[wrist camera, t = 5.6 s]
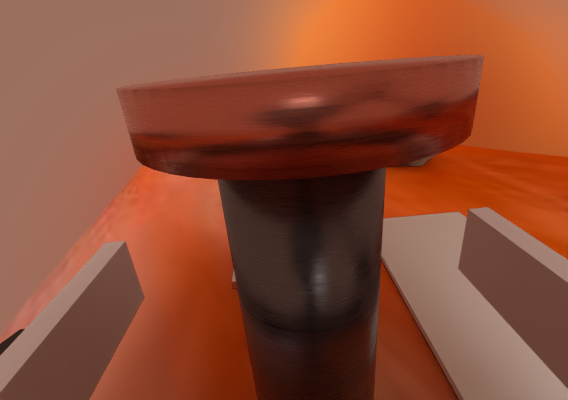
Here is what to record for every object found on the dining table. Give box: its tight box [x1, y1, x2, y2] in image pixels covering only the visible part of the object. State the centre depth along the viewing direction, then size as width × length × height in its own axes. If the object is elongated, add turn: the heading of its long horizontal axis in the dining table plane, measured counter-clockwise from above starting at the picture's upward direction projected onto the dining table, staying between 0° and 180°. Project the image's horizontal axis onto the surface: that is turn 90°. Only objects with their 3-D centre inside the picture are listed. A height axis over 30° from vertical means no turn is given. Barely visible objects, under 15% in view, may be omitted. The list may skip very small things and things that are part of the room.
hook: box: [116, 55, 484, 400], centre depth 17 cm, size 7×24×14 cm, turn 2°
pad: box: [381, 212, 568, 400], centre depth 21 cm, size 9×18×1 cm, turn 2°
